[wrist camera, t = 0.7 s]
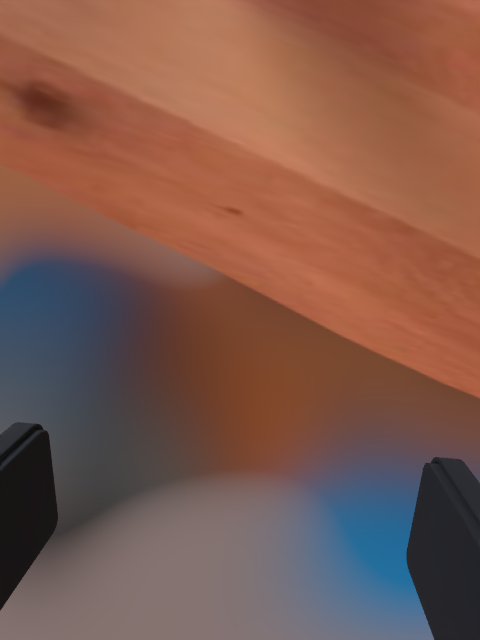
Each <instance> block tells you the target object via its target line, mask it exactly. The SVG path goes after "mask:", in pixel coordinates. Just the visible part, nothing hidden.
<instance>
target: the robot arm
mask: <svg viewBox="0 0 480 640" xmlns="http://www.w3.org/2000/svg"><path fill="white" fill-rule="evenodd" d="M57 521H58V513H57V504H56V495H55V485H54V477H53V468H52V459H51V450H50V442H49V434H48V432H47V431H45V430H43V427H42V426H41V425H39V424H32V423H20V422H18V423H14V424H13V425H11V426H10V427H9V428H8V429H7V430H5V431H4V432H3V433H2V434H1V435H0V610H1V609H2V607H3V606H4V604H5V603H6V601H7V600H8V598H9V597H10V596H11V594H12V592H13V591H14V590H15V588H16V587H17V585H18V584H19V582H20V581H21V579H22V578H23V576H24V575H25V574H26V572H27V571H28V569H29V568H30V566H31V565H32V563H33V562H34V560H35V559H36V557H37V556H38V554H39V553H40V551H41V550H42V548H43V547H44V546H45V544H46V543H47V541H48V540H49V538H50V537H51V535H52V534H53V532H54V530H55V528H56V525H57ZM407 565H408V569H409V572H410V575H411V577H412V580H413V583H414V585H415V588H416V591H417V594H418V596H419V599H420V602H421V604H422V607H423V610H424V613H425V615H426V618H427V621H428V623H429V626H430V629H431V631H432V634H433V637H434V640H480V484H479V482H478V480H477V479H476V478H475V476H474V475H473V474H472V472H471V471H470V470H469V468H468V467H467V466H466V464H465V463H464V462H463V461H462V460H460V459H451V458H439V457H435V458H433V460H432V462H431V463H426V464H425V465H424V468H423V473H422V477H421V482H420V487H419V492H418V498H417V502H416V507H415V512H414V517H413V522H412V528H411V532H410V538H409V543H408V548H407Z"/></svg>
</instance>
